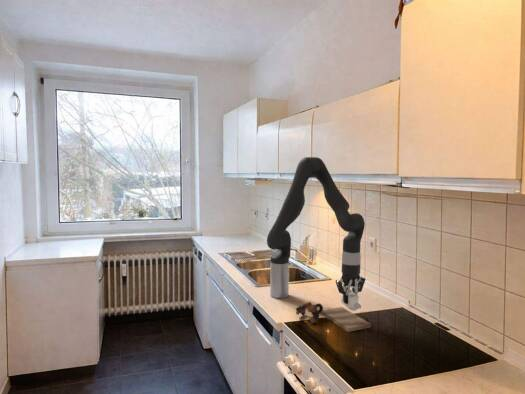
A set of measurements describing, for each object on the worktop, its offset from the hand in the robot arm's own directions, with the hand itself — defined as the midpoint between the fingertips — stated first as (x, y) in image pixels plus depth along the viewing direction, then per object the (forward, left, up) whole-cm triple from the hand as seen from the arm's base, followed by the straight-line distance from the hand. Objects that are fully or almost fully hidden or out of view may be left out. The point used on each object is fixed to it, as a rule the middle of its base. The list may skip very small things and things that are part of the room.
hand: (350, 302), depth 157 cm
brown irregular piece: (-10, -13, -9) cm, 19 cm away
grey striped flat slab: (-3, 0, -9) cm, 9 cm away
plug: (0, 0, -2) cm, 2 cm away
